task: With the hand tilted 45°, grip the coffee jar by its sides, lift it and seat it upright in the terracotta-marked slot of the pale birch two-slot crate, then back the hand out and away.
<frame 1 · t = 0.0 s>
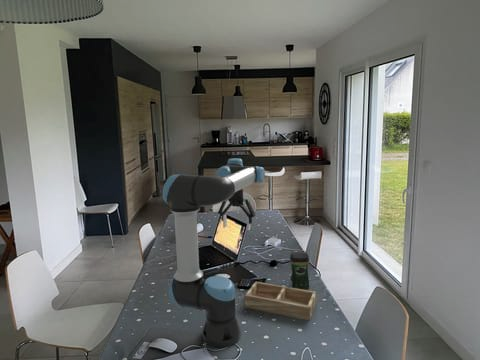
hand: (236, 228, 188), 28 cm above the table, fingers open, 13 cm apart
jar crate: (280, 305, 164), on the table
coffee jar: (299, 287, 181), on the table
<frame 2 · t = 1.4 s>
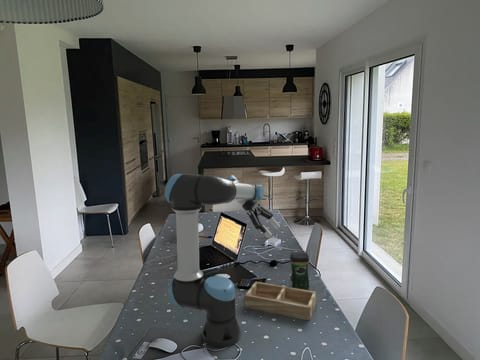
hand: (274, 232, 181), 28 cm above the table, fingers open, 13 cm apart
nothing on the table moved.
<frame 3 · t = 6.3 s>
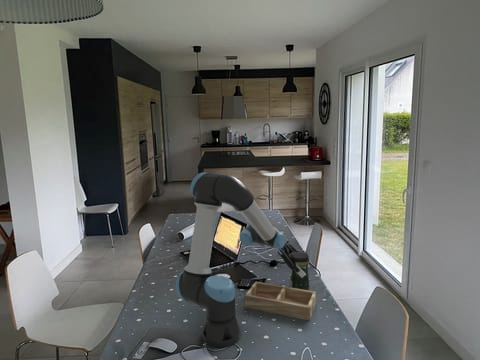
hand: (305, 272, 178), 9 cm above the table, fingers closed on coffee jar, 8 cm apart
coffee jar: (299, 287, 181), on the table, touching gripper
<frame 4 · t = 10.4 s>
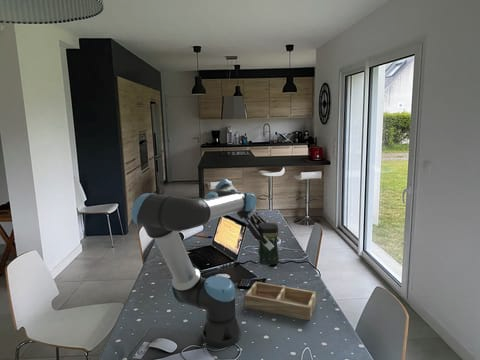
hand: (275, 245, 162), 28 cm above the table, fingers closed on coffee jar, 8 cm apart
coffee jar: (268, 262, 164), point 20 cm above the table, touching gripper
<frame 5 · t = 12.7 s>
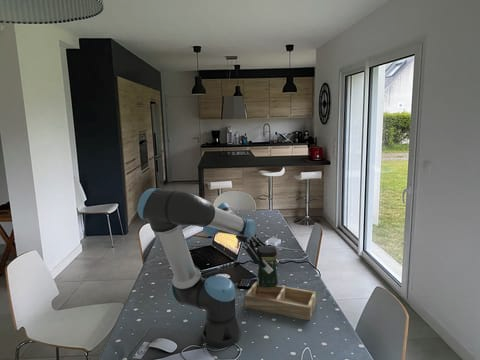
hand: (273, 267, 164), 17 cm above the table, fingers closed on coffee jar, 8 cm apart
coffee jar: (267, 284, 167), point 8 cm above the table, touching gripper
when the fingers open (11 cm above the table, at t = 14.9 s): coffee jar drops 1 cm, resting on jar crate.
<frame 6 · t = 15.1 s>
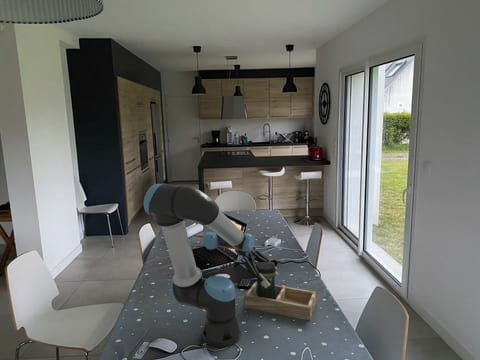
hand: (272, 280, 164), 12 cm above the table, fingers open, 11 cm apart
coffee jar: (265, 300, 167), point 1 cm above the table, touching jar crate
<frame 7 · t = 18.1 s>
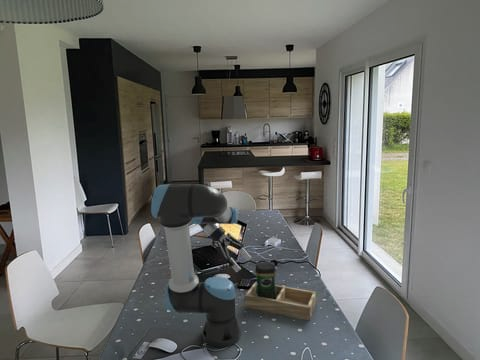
hand: (244, 264, 168), 17 cm above the table, fingers open, 13 cm apart
nothing on the table moved.
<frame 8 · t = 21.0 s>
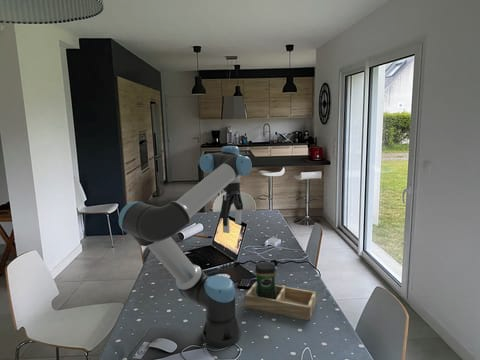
hand: (232, 227, 161), 37 cm above the table, fingers open, 13 cm apart
nothing on the table moved.
at the end: coffee jar inside the target area on the jar crate (0.1 cm from its centre), point 1.1 cm above the jar crate's base; coffee jar tilted 0°; the gripper is holding nothing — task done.
